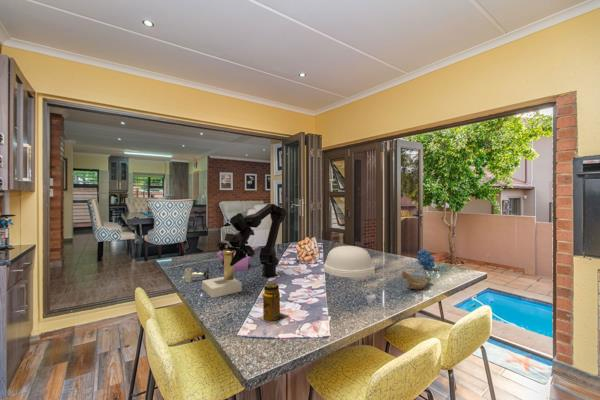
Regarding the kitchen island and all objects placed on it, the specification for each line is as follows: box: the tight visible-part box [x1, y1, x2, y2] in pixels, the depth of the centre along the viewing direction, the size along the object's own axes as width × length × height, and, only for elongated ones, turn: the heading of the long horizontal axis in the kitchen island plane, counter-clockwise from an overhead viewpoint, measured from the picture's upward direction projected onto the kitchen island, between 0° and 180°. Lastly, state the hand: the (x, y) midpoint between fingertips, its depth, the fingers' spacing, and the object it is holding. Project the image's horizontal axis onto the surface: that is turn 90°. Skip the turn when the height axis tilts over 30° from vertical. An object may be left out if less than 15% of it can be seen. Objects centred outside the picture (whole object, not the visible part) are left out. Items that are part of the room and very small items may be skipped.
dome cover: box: [323, 245, 376, 279], centre depth 163 cm, size 32×30×14 cm
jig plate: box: [201, 276, 243, 299], centre depth 128 cm, size 14×14×4 cm
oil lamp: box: [401, 270, 432, 290], centre depth 132 cm, size 9×21×10 cm, turn 123°
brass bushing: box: [222, 249, 235, 280], centre depth 123 cm, size 5×5×13 cm
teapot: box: [216, 246, 259, 272], centre depth 169 cm, size 15×25×14 cm, turn 105°
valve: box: [183, 267, 210, 283], centre depth 142 cm, size 7×7×12 cm
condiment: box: [258, 283, 289, 325], centre depth 100 cm, size 7×8×12 cm
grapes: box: [416, 248, 436, 271], centre depth 164 cm, size 12×7×12 cm, turn 32°
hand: (226, 265), depth 122 cm, fingers closed on brass bushing, 4 cm apart
